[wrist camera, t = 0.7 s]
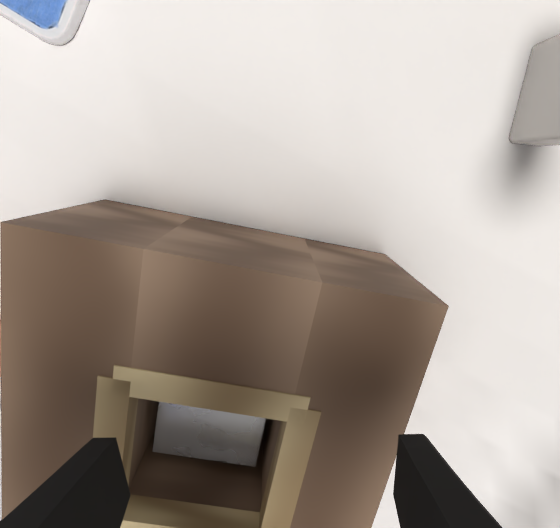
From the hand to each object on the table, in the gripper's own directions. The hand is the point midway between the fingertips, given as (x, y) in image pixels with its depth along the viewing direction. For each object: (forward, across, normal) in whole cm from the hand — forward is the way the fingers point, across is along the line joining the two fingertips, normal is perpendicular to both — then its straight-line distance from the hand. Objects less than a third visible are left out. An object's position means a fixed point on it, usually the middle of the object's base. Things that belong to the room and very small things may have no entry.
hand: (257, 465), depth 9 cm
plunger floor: (+7, +3, +4) cm, 8 cm away
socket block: (+10, +3, +4) cm, 11 cm away
